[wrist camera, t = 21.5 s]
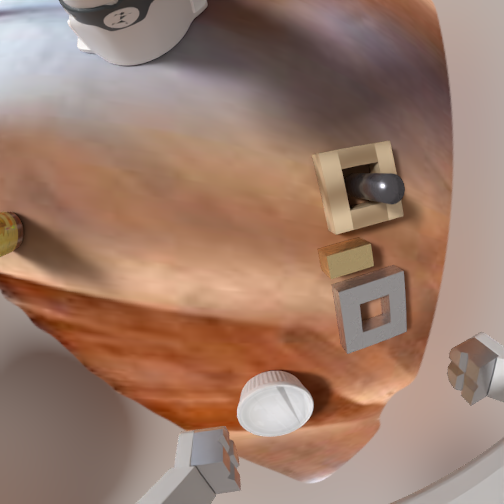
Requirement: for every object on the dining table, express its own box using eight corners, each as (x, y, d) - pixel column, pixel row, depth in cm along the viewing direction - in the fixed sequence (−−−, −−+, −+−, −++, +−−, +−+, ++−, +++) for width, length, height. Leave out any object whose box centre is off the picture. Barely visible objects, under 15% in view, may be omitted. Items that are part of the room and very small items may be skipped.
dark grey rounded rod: (341, 175, 38) (376, 176, 28) (362, 171, 38) (401, 171, 28) (346, 199, 39) (381, 207, 29) (367, 194, 39) (406, 201, 29)
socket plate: (331, 284, 41) (338, 292, 38) (393, 264, 41) (403, 270, 39) (340, 343, 44) (347, 353, 41) (397, 323, 44) (406, 331, 41)
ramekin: (320, 379, 45) (329, 399, 40) (280, 423, 47) (284, 444, 42) (261, 352, 43) (265, 373, 38) (223, 401, 45) (223, 423, 40)
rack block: (311, 155, 37) (318, 153, 34) (379, 142, 37) (389, 140, 34) (328, 230, 40) (336, 234, 37) (392, 213, 40) (403, 216, 37)
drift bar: (317, 248, 40) (326, 256, 36) (358, 237, 40) (370, 243, 36) (321, 269, 41) (330, 279, 37) (361, 258, 41) (373, 266, 37)
